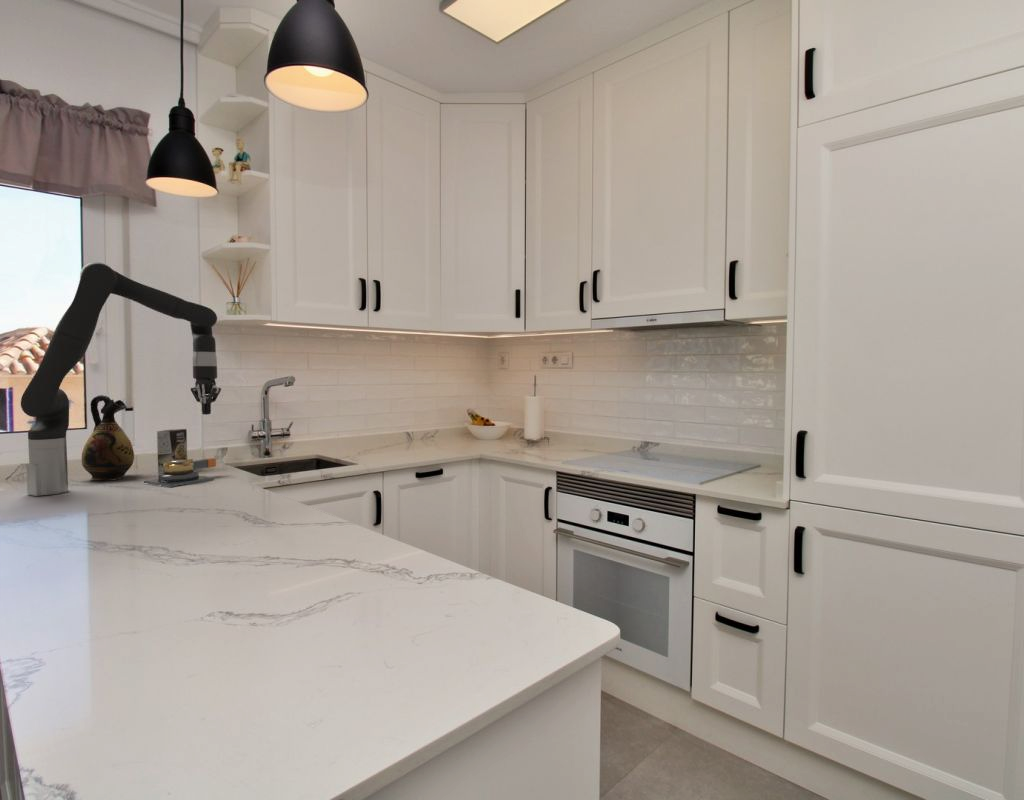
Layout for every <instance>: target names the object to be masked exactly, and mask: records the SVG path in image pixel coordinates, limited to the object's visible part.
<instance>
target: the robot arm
mask: <svg viewBox="0 0 1024 800" xmlns="http://www.w3.org/2000/svg"><path fill="white" fill-rule="evenodd" d="M77 285H78V286H77V289H76V292H75V294H74V297H73V300H72V302H71V303H70V304H69V307H68V308H67V309H66V310H65V312H64V314H63V315H62V316H61V318H60V320H59V321H58V323H57V325H56V327H55V330H54V331H53V334H52V336H51V338H50V341H49V343H48V346H47V348H46V350H45V352H44V354H43V356H42V358H41V360H40V364H39V366H38V368H37V370H36V371H35V373H34V375H33V377H32V378H31V380H30V382H29V383H28V385H27V387H26V388H25V390H24V392H23V394H22V396H21V399H20V408H21V410H22V411H23V413H24V414H25V415H27V416H28V417H32V418H35V422H34V425H33V426H32V427H31V428H30V429H29V430H28V431H27V440H28V441H27V443H28V445H27V446H28V463H26V464H25V465H26V467H25V470H26V491H27V492H26V493H27V495H29V496H34V497H39V496H49V495H57V494H63V493H67V492H69V473H68V471H69V470H68V452H67V451H68V450H67V449H68V448H67V445H68V444H67V432H68V429H69V426H70V400H69V398H68V395H67V393H66V392H65V391H64V390H63V389H61V388H60V387H61V385H62V384H63V381H64V379H65V378H66V376H67V375H68V374H69V372H70V371H72V369H73V368H74V367H76V365H77V364H78V363H79V362H80V361H81V360H82V358H84V355H86V352H87V350H88V348H89V346H90V343H91V342H92V338H93V336H94V332H95V330H96V327H97V324H98V321H99V317H100V313H101V311H102V309H103V307H104V305H105V304H106V302H107V300H108V298H109V297H110V295H116V296H120V297H121V298H122V297H123V298H125V299H128V300H130V301H133V302H135V303H137V304H140V305H142V306H144V307H146V308H149V309H151V310H153V311H156V312H158V313H160V314H162V315H166V316H168V317H171V318H174V319H178V320H184V321H187V322H189V323H190V330H191V331H190V332H191V336H192V377H193V378H192V379H194V380H195V384H194V385H195V386H194V387H190V392H191V393H192V395H193V397H194V399H195V400H196V402H197V403H199V404H201V414H202V415H207V416H208V415H211V414H212V413H211V412H212V403H214V402H216V401H217V399H218V396H219V395H220V393H221V391H222V388H221V387H219V386H217V383H216V379H218V360H217V359H218V357H217V354H216V353H217V352H216V351H217V348H216V347H217V346H216V338H215V337H214V336H213V326H215V325H216V323H217V321H218V315H217V313H216V312H215V311H214V310H213V309H211V308H210V307H207V306H205V305H202V304H198V303H195V302H192V301H188V300H185V299H183V298H181V297H179V296H176V295H174V294H171V293H169V292H166V291H163V290H161V289H157V288H154V287H151V286H149V285H146V284H142V283H140V282H138V281H135V280H134V279H131V278H129V277H127V276H125V275H124V274H122V273H119V272H118V271H116V270H114V269H112V268H111V267H110V266H108V265H107V264H105V263H103V262H98V261H96V262H95V261H94V262H90V263H87V264H85V265H84V266H83V267H82V268H81V269H80V273H79V282H78V284H77Z"/></svg>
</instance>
